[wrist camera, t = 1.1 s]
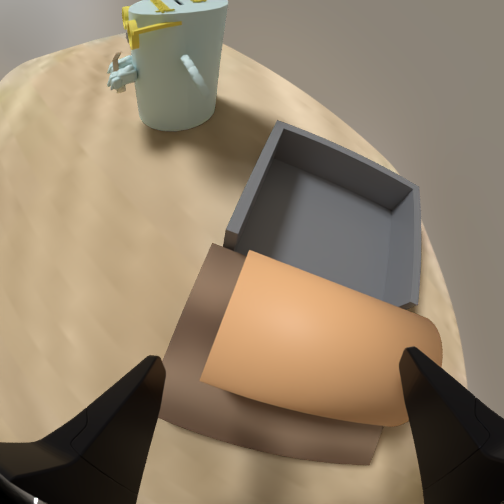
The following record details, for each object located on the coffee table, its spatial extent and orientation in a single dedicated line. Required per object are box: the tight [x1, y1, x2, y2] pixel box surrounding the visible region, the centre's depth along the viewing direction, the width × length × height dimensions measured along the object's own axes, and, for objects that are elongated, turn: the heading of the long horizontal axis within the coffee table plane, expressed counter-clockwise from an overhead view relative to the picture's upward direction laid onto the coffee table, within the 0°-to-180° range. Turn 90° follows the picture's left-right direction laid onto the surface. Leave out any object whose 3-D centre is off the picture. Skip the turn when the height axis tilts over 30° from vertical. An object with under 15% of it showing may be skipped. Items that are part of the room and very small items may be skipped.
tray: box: [223, 120, 421, 310], centre depth 22 cm, size 12×15×4 cm
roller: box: [199, 250, 442, 427], centre depth 14 cm, size 11×7×7 cm, turn 71°
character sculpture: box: [107, 0, 228, 131], centre depth 21 cm, size 20×12×13 cm, turn 26°
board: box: [158, 243, 383, 465], centre depth 17 cm, size 12×16×2 cm
